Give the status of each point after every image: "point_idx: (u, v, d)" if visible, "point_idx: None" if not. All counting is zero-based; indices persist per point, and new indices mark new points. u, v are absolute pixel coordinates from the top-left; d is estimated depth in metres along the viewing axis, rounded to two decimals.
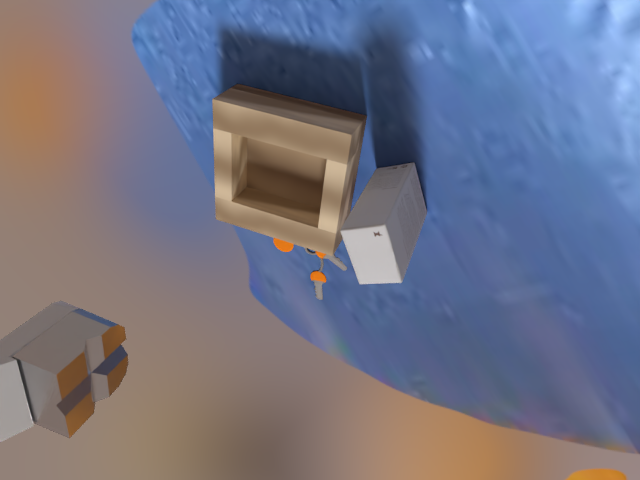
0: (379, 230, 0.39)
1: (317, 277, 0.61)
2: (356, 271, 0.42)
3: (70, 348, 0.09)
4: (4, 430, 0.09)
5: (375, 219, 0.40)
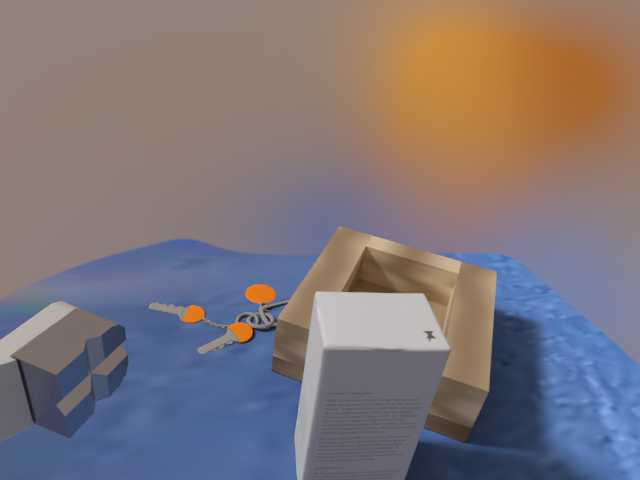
0: (437, 339, 0.22)
1: (193, 313, 0.39)
2: (344, 293, 0.24)
3: (70, 348, 0.09)
4: (4, 430, 0.09)
5: None
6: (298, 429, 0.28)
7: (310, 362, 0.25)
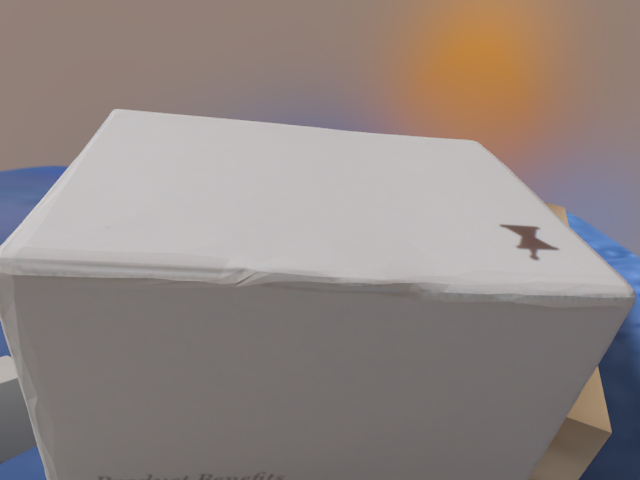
0: (567, 253, 0.05)
1: None
2: (213, 119, 0.07)
3: None
4: (27, 441, 0.09)
5: None
6: None
7: None
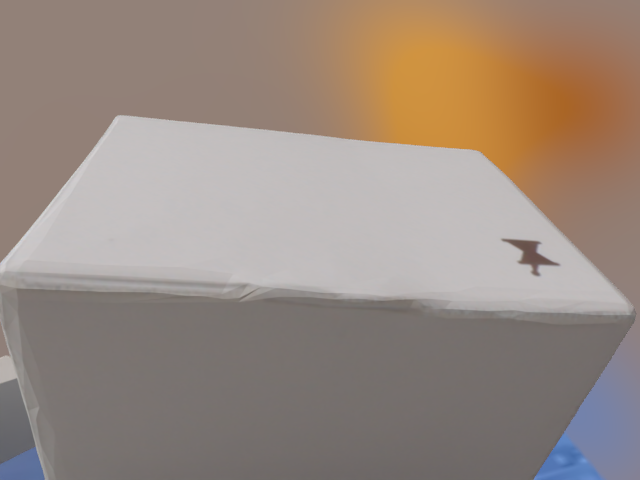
0: (569, 270, 0.05)
1: None
2: (217, 126, 0.07)
3: None
4: (26, 442, 0.09)
5: None
6: None
7: None
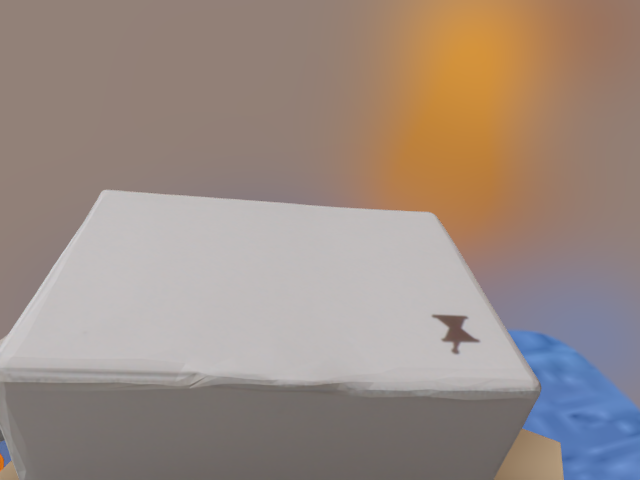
0: (487, 346, 0.06)
1: None
2: (192, 198, 0.08)
3: None
4: None
5: None
6: None
7: None
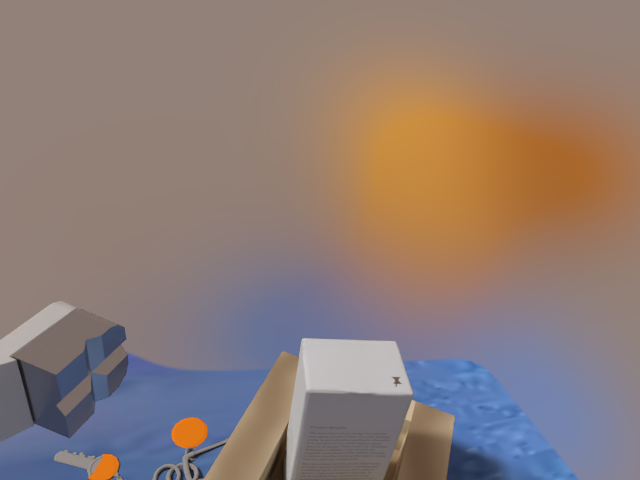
0: (403, 384, 0.27)
1: (104, 466, 0.34)
2: (327, 340, 0.29)
3: (70, 348, 0.09)
4: (4, 430, 0.09)
5: None
6: (286, 452, 0.33)
7: (296, 398, 0.29)
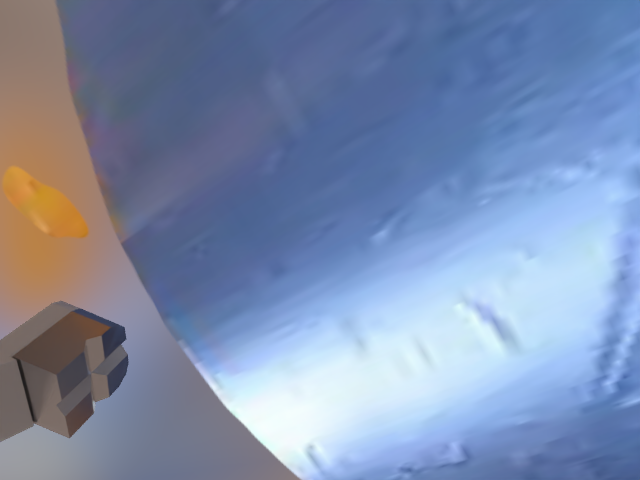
0: None
1: None
2: None
3: (70, 348, 0.09)
4: (4, 430, 0.09)
5: None
6: None
7: None
